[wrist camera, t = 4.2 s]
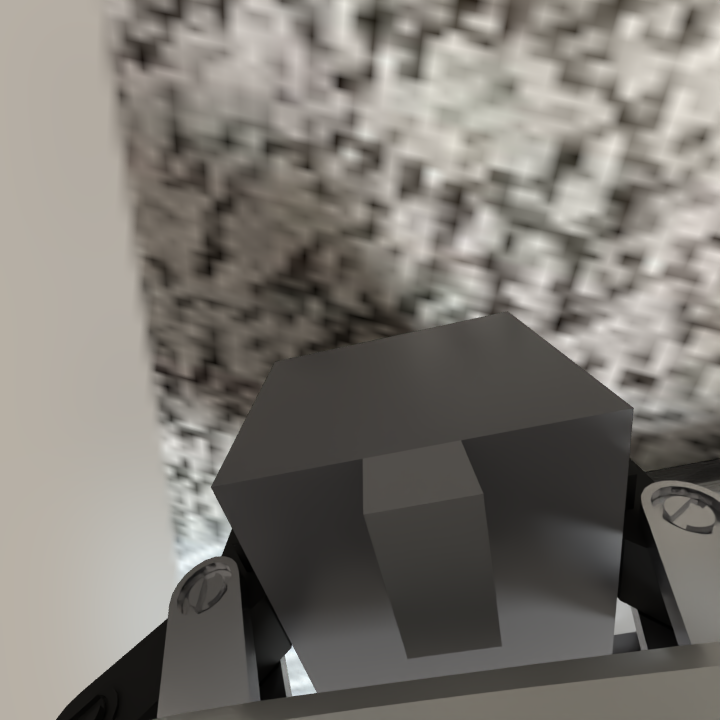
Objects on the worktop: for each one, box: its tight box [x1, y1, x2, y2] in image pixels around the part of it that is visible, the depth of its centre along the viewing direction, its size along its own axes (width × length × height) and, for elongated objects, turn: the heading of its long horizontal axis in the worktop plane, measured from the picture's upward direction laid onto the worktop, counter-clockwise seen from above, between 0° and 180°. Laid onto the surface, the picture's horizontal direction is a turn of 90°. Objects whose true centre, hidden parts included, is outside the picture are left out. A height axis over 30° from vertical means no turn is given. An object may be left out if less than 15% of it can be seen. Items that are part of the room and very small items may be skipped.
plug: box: [211, 311, 634, 693], centre depth 9 cm, size 7×6×8 cm
